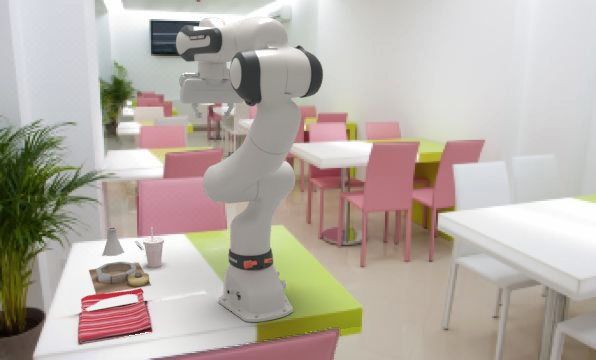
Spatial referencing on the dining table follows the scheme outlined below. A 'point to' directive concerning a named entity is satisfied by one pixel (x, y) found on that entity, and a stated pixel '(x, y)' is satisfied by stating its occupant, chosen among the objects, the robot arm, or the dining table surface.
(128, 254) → the dining table surface
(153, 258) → the smoothie
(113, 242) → the flask
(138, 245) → the fork
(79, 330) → the dish towel
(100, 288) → the carrier board
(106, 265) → the socket ring
